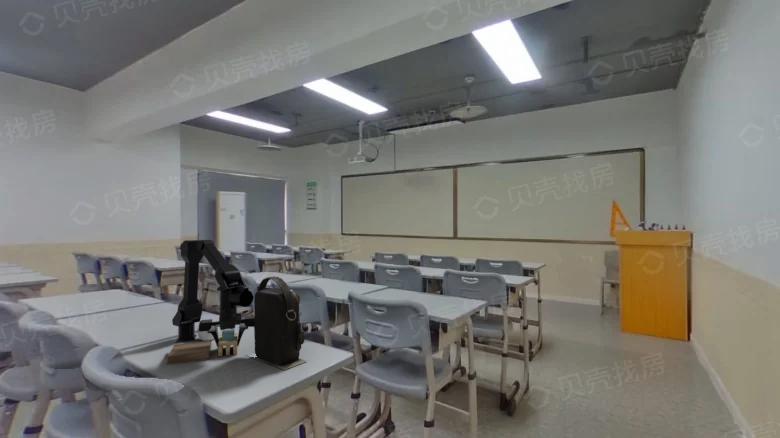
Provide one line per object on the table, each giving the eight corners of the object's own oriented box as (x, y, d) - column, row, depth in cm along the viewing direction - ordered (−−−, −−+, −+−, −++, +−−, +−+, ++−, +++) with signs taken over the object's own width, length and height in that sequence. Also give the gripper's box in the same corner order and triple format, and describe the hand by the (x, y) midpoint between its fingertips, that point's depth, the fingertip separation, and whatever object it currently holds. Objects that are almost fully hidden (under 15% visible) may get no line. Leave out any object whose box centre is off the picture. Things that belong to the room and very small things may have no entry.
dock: (174, 351, 129) (174, 344, 129) (211, 347, 134) (211, 340, 134) (167, 364, 117) (167, 356, 117) (208, 359, 122) (208, 351, 122)
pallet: (219, 347, 133) (219, 335, 133) (237, 345, 135) (237, 333, 135) (218, 356, 124) (218, 343, 124) (237, 354, 126) (237, 341, 126)
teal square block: (222, 337, 131) (222, 330, 131) (234, 335, 132) (234, 329, 132) (221, 340, 127) (222, 333, 127) (234, 339, 129) (234, 332, 129)
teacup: (203, 343, 138) (204, 329, 138) (193, 340, 142) (193, 326, 142) (228, 337, 146) (228, 323, 147) (217, 333, 151) (217, 321, 151)
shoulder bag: (244, 355, 125) (244, 275, 126) (267, 348, 133) (267, 272, 133) (284, 370, 112) (284, 280, 112) (307, 362, 119) (307, 277, 120)
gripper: (196, 311, 119) (196, 358, 119) (256, 306, 126) (256, 350, 126) (200, 304, 129) (200, 347, 129) (255, 300, 136) (255, 341, 136)
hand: (228, 347), depth 130 cm, fingers closed on pallet, 6 cm apart
